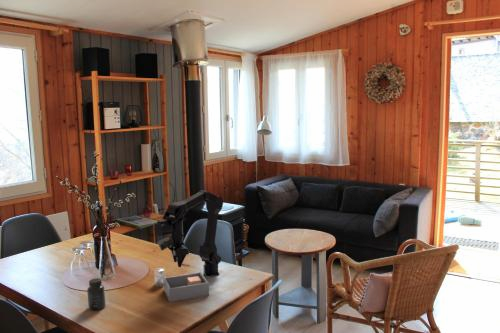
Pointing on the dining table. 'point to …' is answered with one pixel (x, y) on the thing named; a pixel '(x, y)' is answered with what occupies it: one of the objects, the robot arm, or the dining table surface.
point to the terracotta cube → (193, 280)
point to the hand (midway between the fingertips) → (177, 264)
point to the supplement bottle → (96, 295)
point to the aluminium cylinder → (159, 276)
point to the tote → (185, 287)
